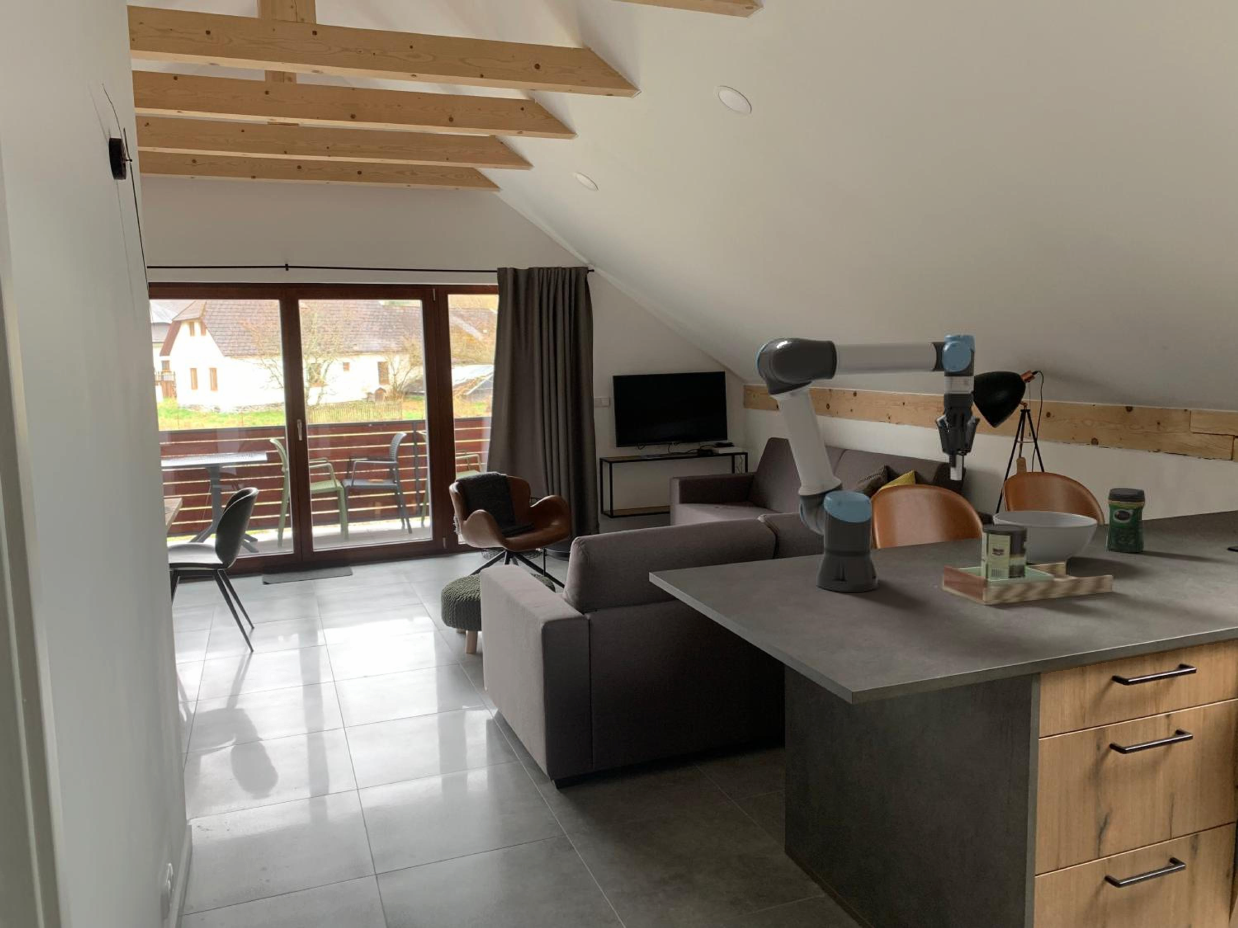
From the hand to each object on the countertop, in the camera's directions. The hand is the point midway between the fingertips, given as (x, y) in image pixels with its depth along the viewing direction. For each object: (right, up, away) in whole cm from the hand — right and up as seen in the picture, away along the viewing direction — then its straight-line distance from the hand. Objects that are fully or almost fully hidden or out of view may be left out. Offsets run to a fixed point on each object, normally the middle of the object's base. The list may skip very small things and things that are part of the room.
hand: (956, 479), depth 252 cm
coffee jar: (+58, -22, +22) cm, 66 cm away
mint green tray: (+2, -26, -25) cm, 37 cm away
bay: (+9, -27, -23) cm, 37 cm away
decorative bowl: (+28, -23, +10) cm, 38 cm away
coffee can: (+2, -25, -26) cm, 36 cm away
